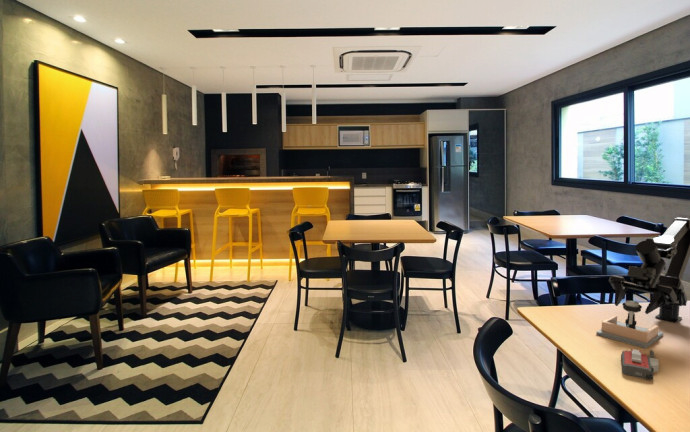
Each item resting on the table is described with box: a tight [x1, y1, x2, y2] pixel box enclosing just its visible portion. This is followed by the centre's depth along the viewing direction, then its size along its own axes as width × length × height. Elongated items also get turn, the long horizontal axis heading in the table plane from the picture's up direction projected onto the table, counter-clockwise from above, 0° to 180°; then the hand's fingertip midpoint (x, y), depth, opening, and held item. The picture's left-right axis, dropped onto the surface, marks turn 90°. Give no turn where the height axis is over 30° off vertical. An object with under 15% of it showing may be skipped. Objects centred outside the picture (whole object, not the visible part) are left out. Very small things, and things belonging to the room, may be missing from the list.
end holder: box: [595, 314, 664, 349], centre depth 140 cm, size 16×14×4 cm
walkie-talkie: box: [620, 348, 660, 381], centre depth 120 cm, size 9×4×20 cm
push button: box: [622, 300, 643, 329], centre depth 140 cm, size 7×5×10 cm
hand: (630, 309), depth 139 cm, fingers open, 9 cm apart
